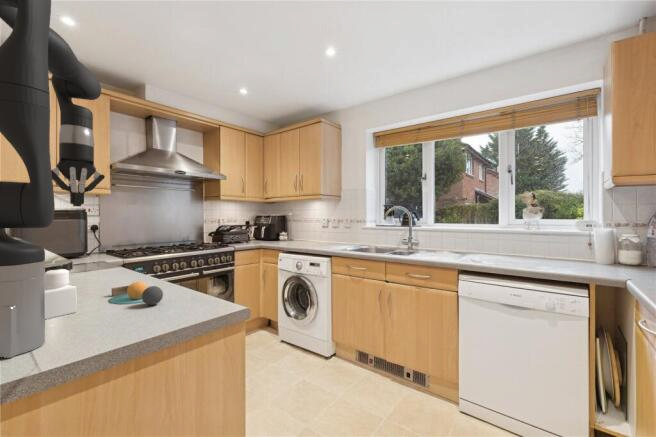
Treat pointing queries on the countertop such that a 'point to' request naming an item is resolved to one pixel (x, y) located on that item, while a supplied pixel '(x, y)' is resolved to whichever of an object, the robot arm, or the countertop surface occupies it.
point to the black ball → (152, 295)
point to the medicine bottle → (59, 294)
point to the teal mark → (124, 299)
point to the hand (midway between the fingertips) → (76, 206)
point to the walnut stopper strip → (119, 290)
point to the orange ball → (136, 290)
